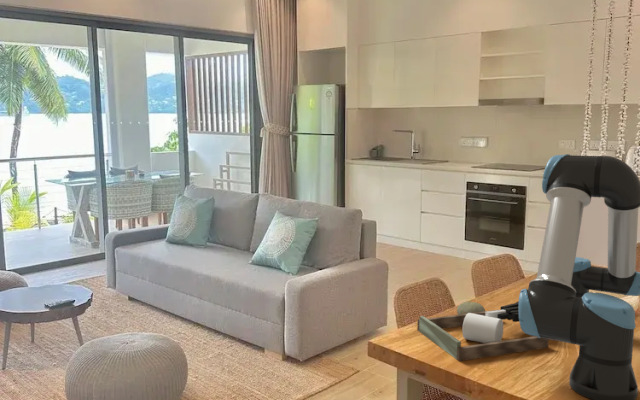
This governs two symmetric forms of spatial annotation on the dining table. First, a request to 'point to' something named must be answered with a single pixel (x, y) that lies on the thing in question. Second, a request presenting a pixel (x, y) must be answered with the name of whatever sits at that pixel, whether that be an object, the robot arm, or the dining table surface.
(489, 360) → the dining table surface
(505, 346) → the wooden tray
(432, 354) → the dining table surface
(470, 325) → the mug
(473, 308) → the sea urchin shell
